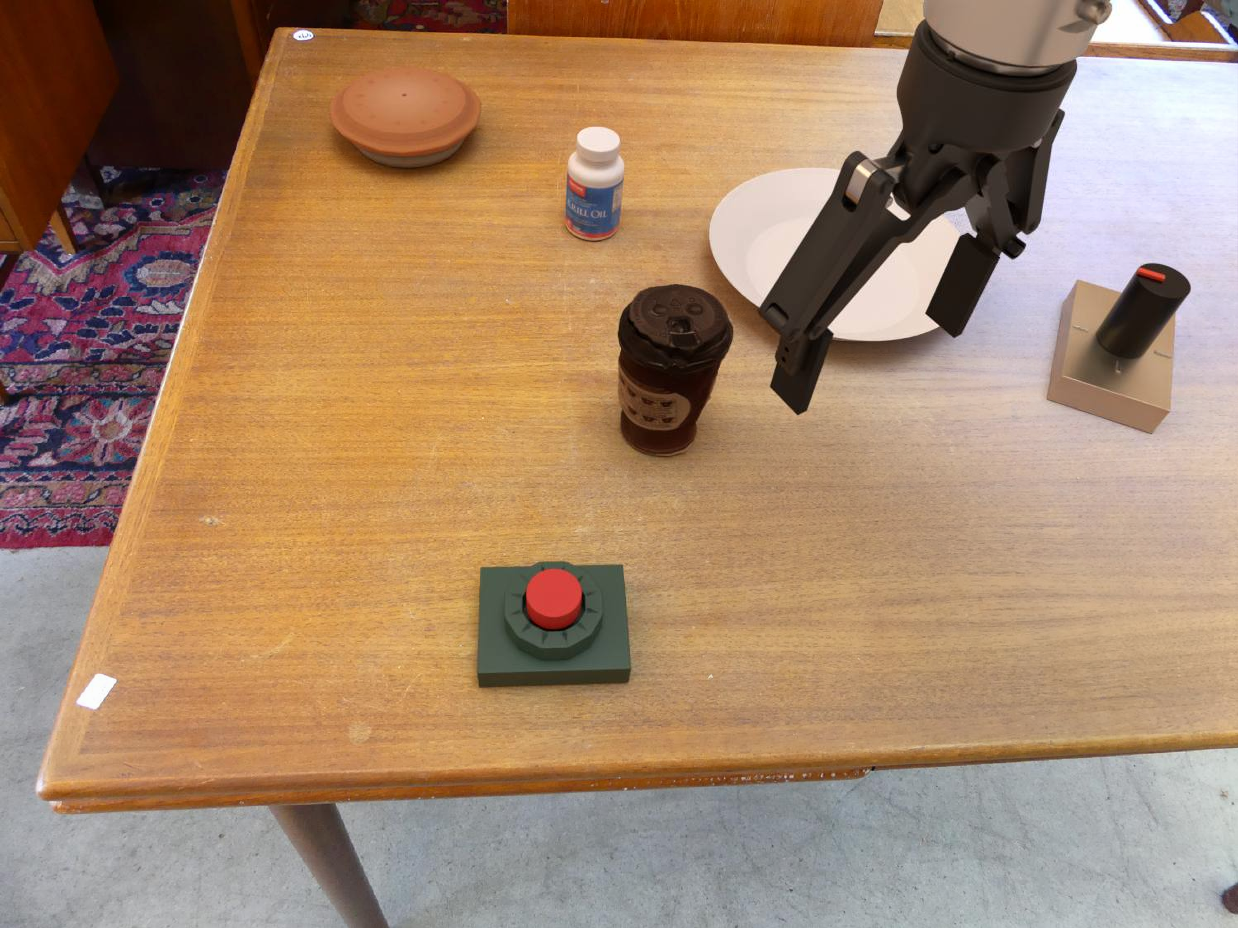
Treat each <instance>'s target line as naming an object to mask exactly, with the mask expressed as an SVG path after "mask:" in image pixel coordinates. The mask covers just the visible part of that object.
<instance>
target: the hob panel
mask: <svg viewBox="0 0 1238 928" xmlns="http://www.w3.org/2000/svg"><path fill="white" fill-rule="evenodd" d="M1121 293H1122V292H1121V291H1118V290H1116V289H1115V290H1114V289H1112V288H1107V287H1105V286H1102V285H1099V284H1095V283H1092V282H1088V281H1085V280H1082V279H1076V281H1075V283H1074V284H1073V286H1072V288H1071V289H1070V291H1069V293H1068V295H1067V296H1066V297H1065V300H1064V301H1063V305H1062V310H1061V315H1060V323H1059V327H1058V331H1057V339H1056V344H1055V350H1054V356H1053V362H1052V367H1051V373H1050V379H1049V385H1048V391H1047V396H1046V400H1049V401H1052V402H1055V403H1058V404H1061V405H1064V406H1067V407H1069V408H1073V409H1076V410H1078V411H1082V412H1085V413H1088V414H1092V415H1094V416H1097V417H1100V418H1103V419H1106V420H1109V421H1112V422H1115V423H1119V424H1121V425H1125V426H1127V427H1131V428H1134V429H1136V430H1140V431H1143V432H1145V433H1147V434H1148V433H1149V434H1153V433H1154V432H1155V430H1156V429H1157V428H1158V426H1160V425H1161V423H1162V422H1163V421H1164V419H1165V418H1166V417H1167V416H1168V414H1169V413H1170V412H1171V409H1172V408H1171V407H1172V391H1173V390H1172V389H1173V387H1172V386H1173V372H1174V371H1173V370H1174V368H1173V367H1174V353H1175V352H1174V351H1175V335H1176V334H1175V331H1176V314H1177V311H1176V312H1175V314H1174V315H1173V316H1172V318H1171V319H1170V320H1169V322H1168V323H1167V324H1166V326H1165V327H1164V328H1163V330H1162V331H1161V333H1160V334H1159V335H1158V337H1157V338H1156V339H1155V341H1154V342H1153V343H1152V345H1151V346H1150V347H1149V349H1148V350H1147V351H1146V353H1145V354H1144V355H1142V356H1140V357H1137V358H1126V357H1121V356H1118V355H1116V354H1114V353H1112V352H1110V351H1108V350H1107V349H1106V348H1104V347H1103V346H1102V344H1101V343H1100V342H1099V340H1098V338H1097V330H1098V328H1099V327H1100V325H1101V324H1102V322H1103V321H1104V319H1105V318H1106V316H1107V314H1108V313H1109V311H1110V310H1111V308H1112V307H1113V305H1114V304H1115V302H1116V301H1117V299H1118V298H1119V296H1120V295H1121Z"/></svg>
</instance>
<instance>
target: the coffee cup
mask: <svg viewBox="0 0 1238 928" xmlns="http://www.w3.org/2000/svg"><path fill="white" fill-rule="evenodd" d="M617 329H618V330H617V340H618V345H619V348H620V351H619V355H618V361H617V366H618V367H617V368H618V369H617V371H618V375H617V376H618V383H617V394H618V401H619V404H620V407H621V412H620V424H619V425H620V426H619V427H620V432H621V434H622V436H623V438H624V440H626V441H627V442H628V444H630V445H631V447H632V448H634V449H636V450H637V451H640V452H642V453H645V454H649V455H652V456H661V457H673V456H675V455H677V454H678V455H679V454H684V453H685V452H687V451H688V450H689V449H690V447H691V446H692V445H693V444H694V443H695V442H696V438H697V436H698V425H697V422H698V420H699V418H700V416H701V414H702V412H703V410H704V408H705V407H706V406H707V403H708V402H709V401H710V400H711V398H712V397H711V396H712V393H713V390H714V388H715V384H716V382H717V377H718V375H719V369H720V367H721V364H722V361H723V360H724V359H725V358H726V356H727V354H728V353H729V351H730V348H731V345H732V343H733V340H734V326H733V323H732V321H731V320H730V318H729V313H728V312H727V310H726V307H725V306H724V305H723V303H722V302H721V301H720V300H719V299H718V298H717V297H716V296H715V295H713V294H712V293H711V292H708V291H706V290H705V289H702V288H701V287H696V286H691V285H687V284H681V283H673V284H667V285H657V286H648V287H647V288H644V289H642V290H640V291H639V292H637V294H636V295H635V296H634V297H633V299H632V300H631V301H630V302H629V303H628V304H627V305H626V306H625V308H624V309H623V310H622V312H621V315H620V317H619V321H618V328H617Z"/></svg>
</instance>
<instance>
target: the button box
mask: <svg viewBox="0 0 1238 928" xmlns="http://www.w3.org/2000/svg"><path fill="white" fill-rule="evenodd" d="M548 569H561V570H564V571H567V572H569V573H570V574H572V575H573V576H574V577H575V578H576V579H577V580H578V582H579V583H580V586H581V589H582V599H581V610H580V613H579V615H578V617H577V618H576V620H575V621H574V622H573V623H572V624H570V625H569V626H567V627H564V628H561V629H555V630H554V629H546V628H543V627H540V626H539V625H537V624H536V623H534V622H533V621H532V619H531V618H530V616H529V615H528V612H527V606H526V590H527V586H528V584H529V582H530V580H531V579H532V578H533V577H534V576H535V575H536V574H538V573H540V572H542V571H544V570H548ZM626 596H627V595H626V583H625V572H624V565H623V564H620V563H619V564H573V563H570V562H569V561H565V560H556V561H553V560H552V561H551V560H550V561H538V562H536V563H534V564H532V565H530V566H529V565H523V566H522V565H521V566H481V567H480V571H479V597H478V599H479V600H478V604H479V605H478V633H477V664H476V665H477V666H476V676H477V684H478V687H479V688H499V687H530V686H534V687H535V686H560V685H562V686H564V685H590V684H593V685H594V684H623V683H624V684H626V683H627V684H628V683H629V682H630V677H631V672H632V659H631V646H630V635H629V634H630V633H629V622H628V610H627V597H626Z"/></svg>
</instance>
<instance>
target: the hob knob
mask: <svg viewBox="0 0 1238 928" xmlns="http://www.w3.org/2000/svg"><path fill="white" fill-rule="evenodd" d="M1191 291H1192V285H1191V282H1190V281H1189V279H1188V278H1187V277H1186V276H1185V275H1184V274H1183V273H1181V271H1179V270H1177V269H1175V268H1174V267H1172V266H1169V265H1167V264H1163V263H1158V262H1147V263H1144V264H1141V265H1140V266H1139V267H1138V268H1137V269H1136V270H1135V272H1134V274H1133V275H1132V277H1131V278H1130V280H1129V281H1128V283H1127V284H1126V286H1125V287H1124V288H1123V290H1122V292H1121V295H1120V296H1119V298H1118V299H1117V301H1116V302H1115V304H1114V305H1113V307H1112V308H1111V310H1110V311H1109V313H1108V314H1107V316H1106V318H1105V319H1104V321H1103V322H1102V324H1101V325H1100V327H1099V328H1098V330H1097V338H1098V340H1099V342H1100V343H1101V344H1102V346H1103V347H1104V348H1106V349H1107V350H1108V351H1110V352H1112V353H1114V354H1116V355H1118V356H1121V357H1126V358H1137V357H1140V356H1142V355H1144V354H1145V353H1146V351H1147V350H1148V349H1149V347H1150V346H1151V345H1152V343H1153V342H1154V341H1155V339H1156V338H1157V337H1158V335H1159V334H1160V333H1161V331H1162V330H1163V328H1164V327H1165V326H1166V324H1167V323H1168V322H1169V320H1170V319H1171V318H1172V316H1173V315H1174V314H1175V312H1176V313H1177V311H1178V310H1179V308H1180V307H1181V306H1182V304H1183V303H1184V302H1185V300H1186V299H1187V297H1188V296H1189V295H1190V293H1191Z"/></svg>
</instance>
